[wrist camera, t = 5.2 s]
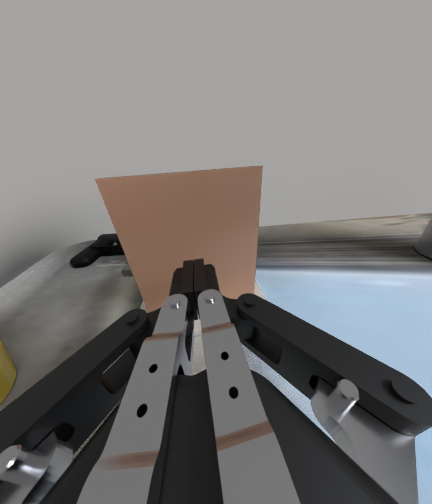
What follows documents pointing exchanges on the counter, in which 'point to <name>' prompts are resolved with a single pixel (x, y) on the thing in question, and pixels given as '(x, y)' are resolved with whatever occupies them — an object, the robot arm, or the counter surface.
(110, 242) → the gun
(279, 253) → the counter surface
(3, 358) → the plant pot
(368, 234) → the counter surface
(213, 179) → the terracotta tile
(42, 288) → the counter surface
